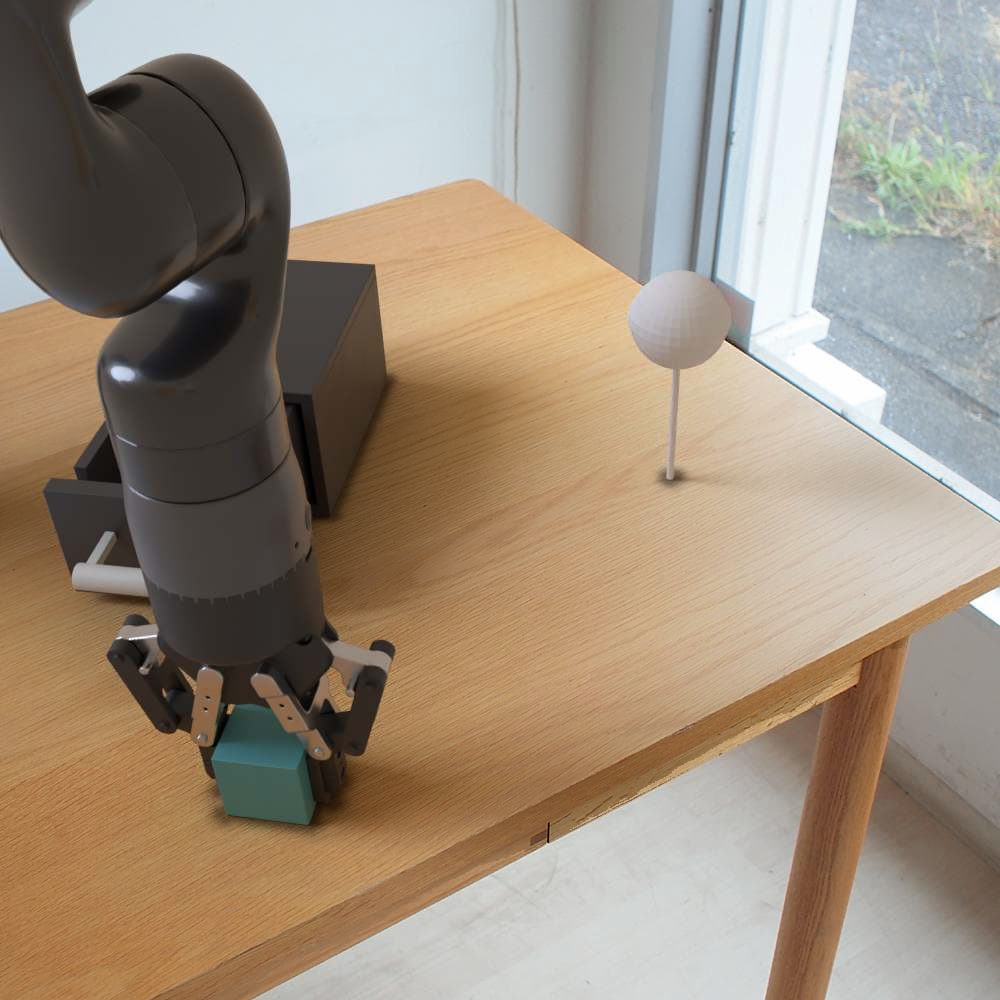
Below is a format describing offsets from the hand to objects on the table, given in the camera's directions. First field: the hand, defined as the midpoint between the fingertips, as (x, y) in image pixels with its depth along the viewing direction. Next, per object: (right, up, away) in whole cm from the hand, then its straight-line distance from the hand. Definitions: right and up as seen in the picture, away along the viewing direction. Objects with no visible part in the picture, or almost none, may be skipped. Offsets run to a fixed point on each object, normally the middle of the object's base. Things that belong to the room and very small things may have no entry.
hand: (279, 781), depth 68 cm
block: (0, 0, 0) cm, 0 cm away
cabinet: (-5, +19, +24) cm, 31 cm away
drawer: (-7, +12, +14) cm, 19 cm away
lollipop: (+23, +16, +19) cm, 33 cm away
